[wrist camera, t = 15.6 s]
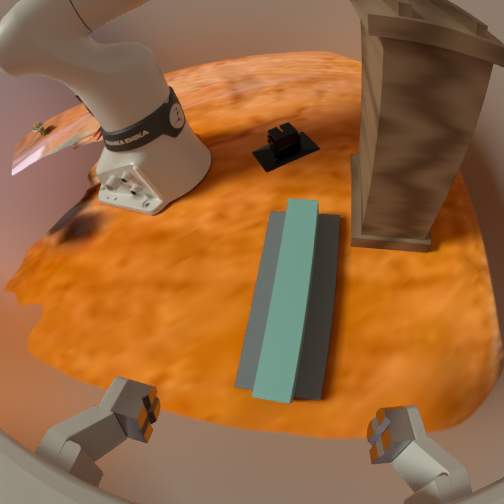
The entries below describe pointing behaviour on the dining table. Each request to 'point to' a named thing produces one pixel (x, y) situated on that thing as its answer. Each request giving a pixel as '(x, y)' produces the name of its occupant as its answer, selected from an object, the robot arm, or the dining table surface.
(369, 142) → the walnut stand
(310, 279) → the teal square bar
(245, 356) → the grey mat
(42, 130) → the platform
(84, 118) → the dining table surface
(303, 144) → the black block on plate
